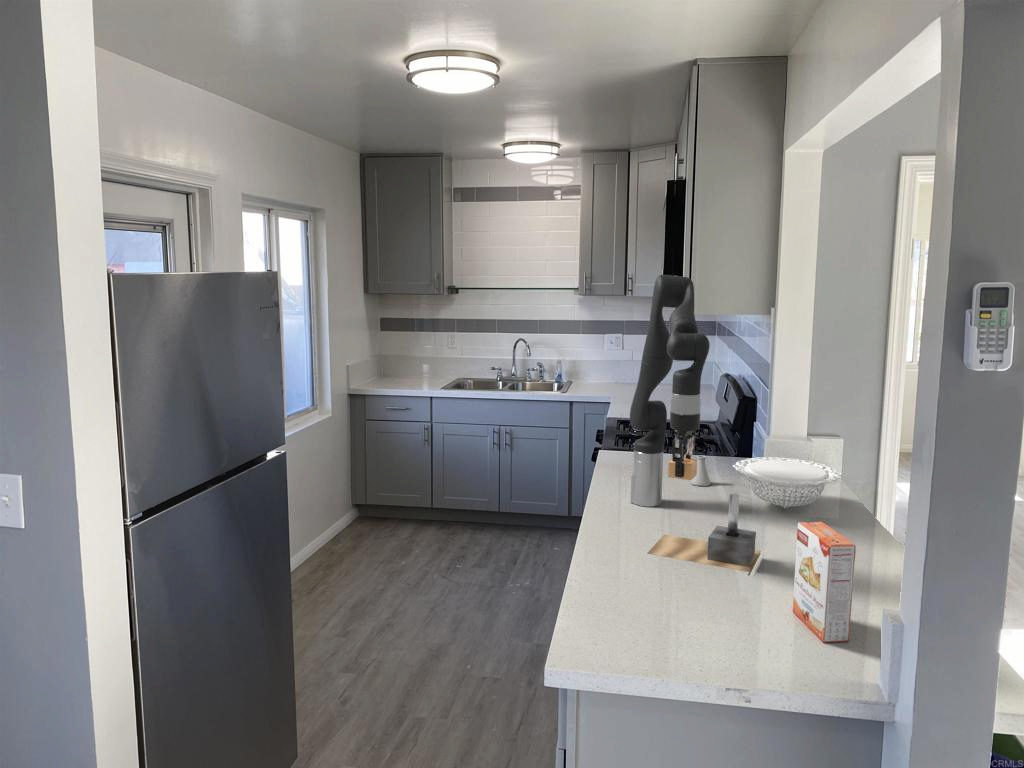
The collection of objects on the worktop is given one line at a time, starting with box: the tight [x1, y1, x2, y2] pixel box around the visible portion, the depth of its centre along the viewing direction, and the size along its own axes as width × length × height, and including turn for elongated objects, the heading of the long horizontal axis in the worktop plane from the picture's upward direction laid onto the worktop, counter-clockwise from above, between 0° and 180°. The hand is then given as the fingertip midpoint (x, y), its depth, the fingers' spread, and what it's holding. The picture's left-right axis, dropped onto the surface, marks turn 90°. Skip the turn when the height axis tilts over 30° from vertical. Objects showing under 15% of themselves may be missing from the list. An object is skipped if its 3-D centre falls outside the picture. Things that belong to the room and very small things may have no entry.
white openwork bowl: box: [732, 456, 843, 508], centre depth 238 cm, size 32×32×13 cm
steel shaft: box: [727, 493, 740, 537], centre depth 195 cm, size 2×2×11 cm
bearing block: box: [646, 525, 761, 576], centre depth 199 cm, size 26×16×7 cm, turn 63°
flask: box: [689, 454, 712, 487], centre depth 265 cm, size 7×7×10 cm
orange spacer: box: [667, 458, 698, 481], centre depth 198 cm, size 6×6×4 cm
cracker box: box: [792, 521, 857, 643], centre depth 158 cm, size 14×6×21 cm, turn 5°
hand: (682, 473), depth 198 cm, fingers closed on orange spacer, 6 cm apart
